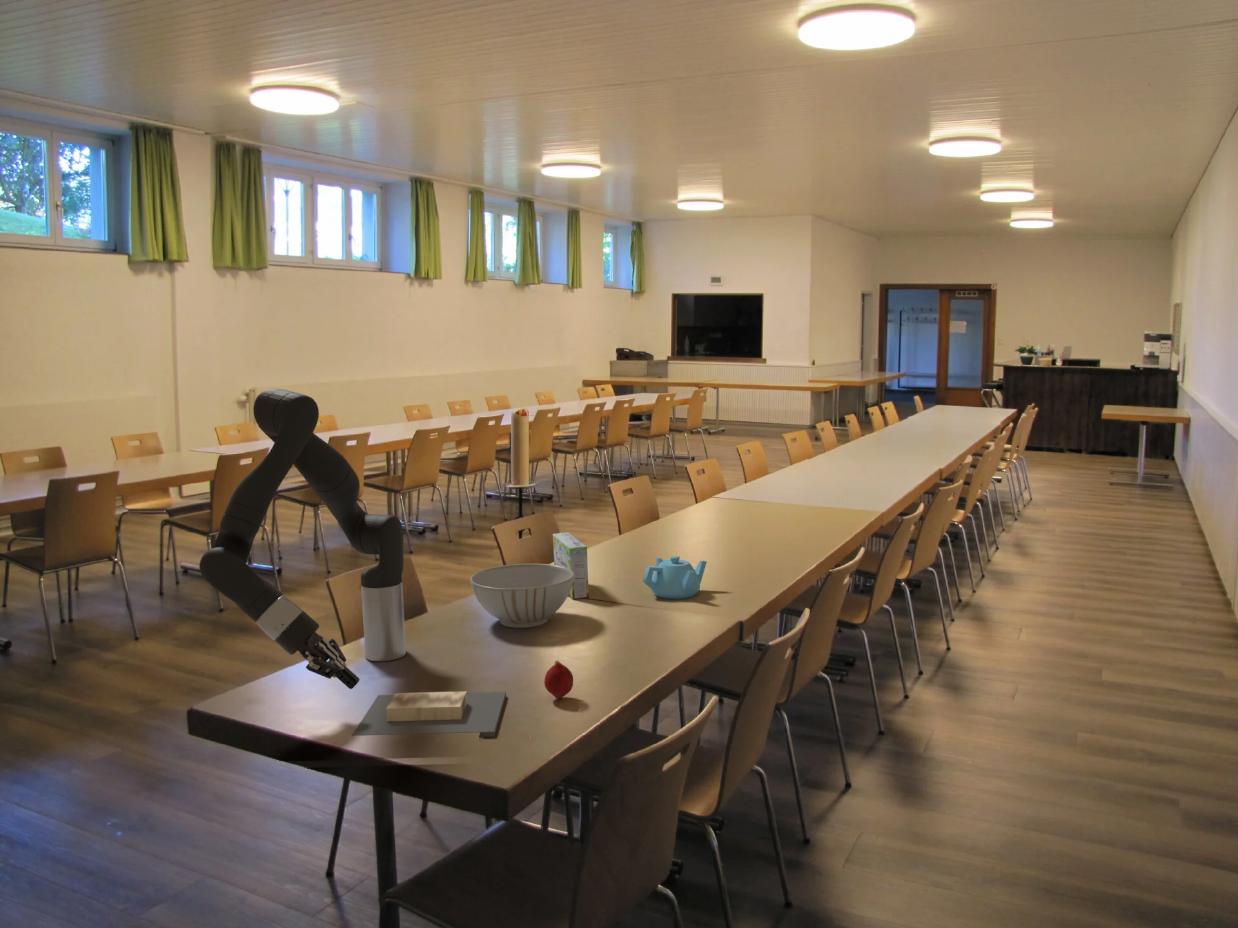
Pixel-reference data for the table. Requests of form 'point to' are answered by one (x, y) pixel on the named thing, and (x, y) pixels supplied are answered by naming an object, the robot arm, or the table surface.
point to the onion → (558, 680)
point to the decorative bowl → (522, 592)
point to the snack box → (572, 562)
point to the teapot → (674, 578)
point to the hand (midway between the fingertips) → (355, 684)
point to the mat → (476, 718)
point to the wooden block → (427, 706)
